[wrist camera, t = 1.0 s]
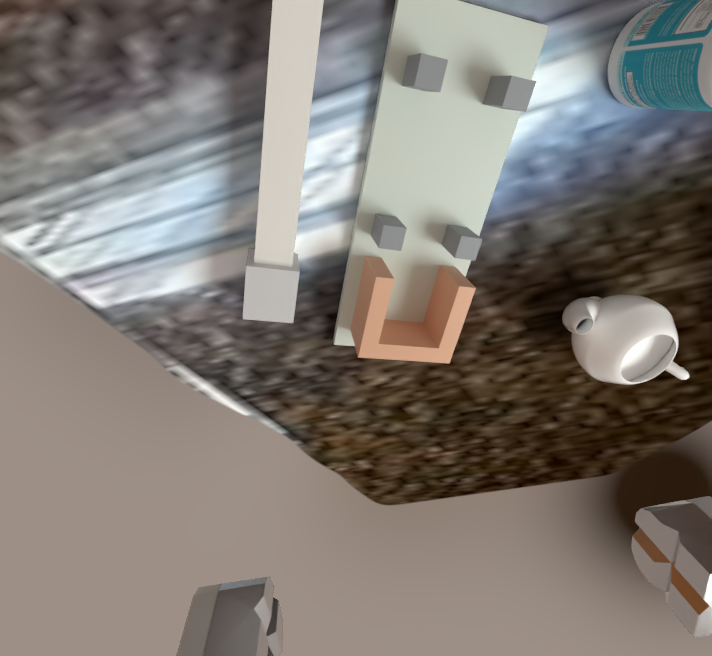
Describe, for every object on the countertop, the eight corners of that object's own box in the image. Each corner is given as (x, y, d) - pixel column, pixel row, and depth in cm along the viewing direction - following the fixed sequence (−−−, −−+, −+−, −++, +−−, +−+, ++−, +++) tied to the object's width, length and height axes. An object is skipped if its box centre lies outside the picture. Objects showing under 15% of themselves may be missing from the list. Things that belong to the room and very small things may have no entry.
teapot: (613, 371, 53) (671, 421, 46) (498, 316, 46) (543, 364, 38) (670, 311, 50) (743, 354, 42) (555, 241, 43) (618, 277, 35)
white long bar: (266, -31, 28) (265, -49, 25) (330, -14, 29) (337, -28, 26) (246, 297, 40) (242, 319, 37) (291, 301, 41) (293, 323, 38)
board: (397, -14, 30) (422, -33, 25) (542, 27, 33) (590, 17, 28) (332, 339, 44) (340, 373, 39) (437, 347, 47) (456, 379, 42)
